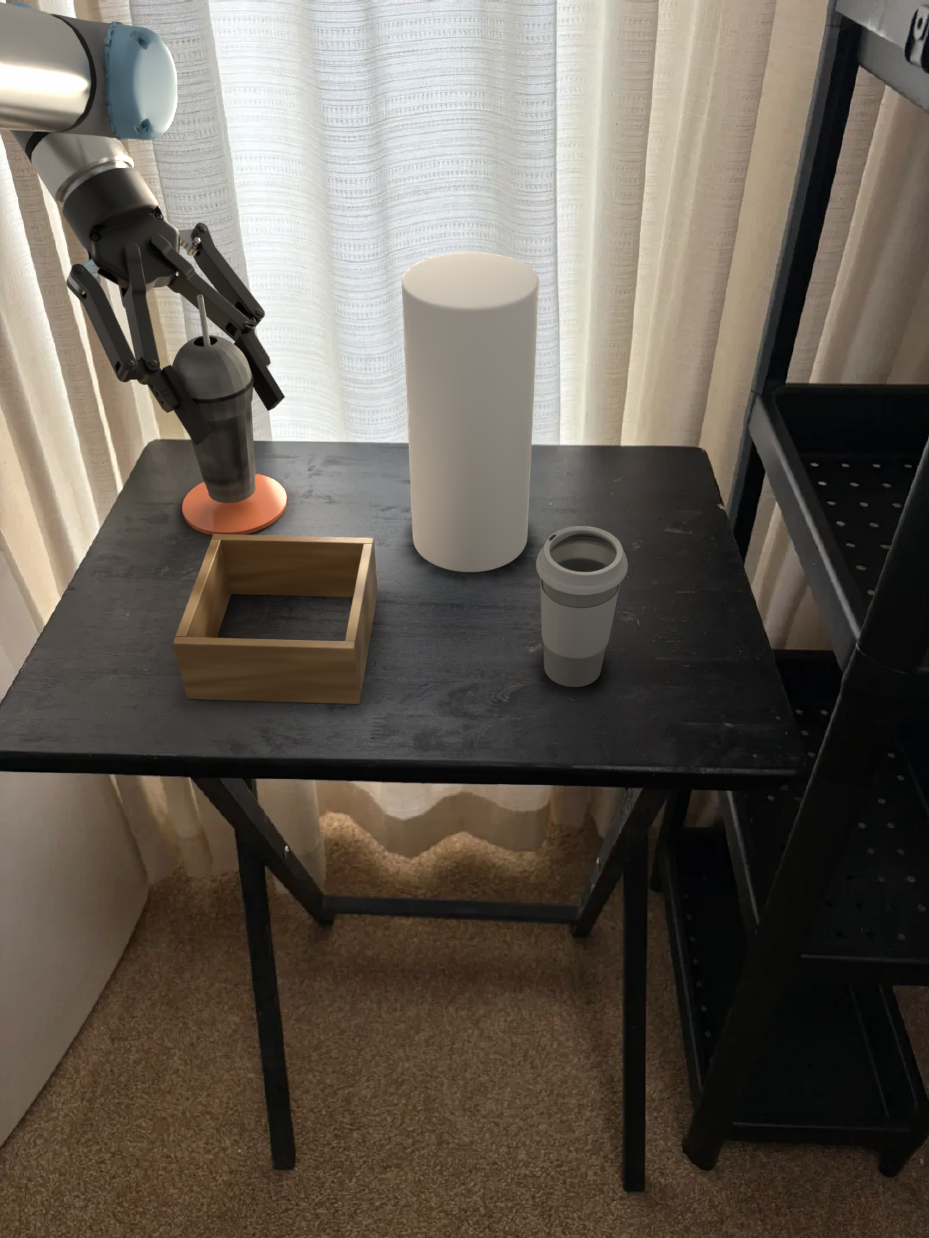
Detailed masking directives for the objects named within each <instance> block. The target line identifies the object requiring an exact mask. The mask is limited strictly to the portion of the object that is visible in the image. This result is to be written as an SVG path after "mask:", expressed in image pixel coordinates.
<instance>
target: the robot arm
mask: <svg viewBox="0 0 929 1238" xmlns="http://www.w3.org/2000/svg"><path fill="white" fill-rule="evenodd" d="M178 98H179V97H178V75H177V70H176V65H175V61H174V58H173V56H172V54H171V51H170V49H169V47H168V46H167V44H166V42H165V41H164V40H163V39H162V38H161V36H159V35H158V34H157V33H156V32H155V31H153V30H151V29H150V28H148V27H144V26H138V25H137V26H136V25H130V24H125V23H123V22H121V21H114V20H113V21H111V22H103V21H102V22H101V21H93V20H88V19H87V20H86V19H80V18H76V17H72V16H66V15H62V14H57V13H51V12H50V13H49V12H46V11H44V10H39V9H36V8H34V6H31V5H30V4H29V3H28V4H27V3H25V2H21V1H12V2H10V3H6V2H2V1H0V130H4V131H5V130H6V131H7V130H8V131H10V133H11V134H12V136H13V137H14V139H15V140H16V141H17V143H18V144H19V146H20V148H21V149H22V151H23V152H24V154H25V156H26V157H27V160H28V161H29V162H30V163H31V166H32V167H33V169H34V170H35V172H36V174H37V175H38V177H39V178H40V180H41V182H42V184H43V185H44V186H45V188H46V190H47V191H48V193H49V195H50V196H51V198H52V199H53V201H54V203H55V204H56V205H58V207H59V208H62V215H63V217H64V219H65V220H66V222H67V224H68V225H69V227H70V229H71V230H72V232H73V234H74V235H75V237H76V239H77V240H78V242H79V243H80V245H81V246H82V247H83V248H84V249H85V250H86V253H87V255H88V261H85V262H84V263H83V264H81V263H74V264H73V265H72V266H71V268H70V271H69V274H68V275H67V277H66V280H65V284H66V287H67V288H68V289H69V290H70V291H71V293H72V294H73V295H74V296H75V297H76V298H77V299H78V301H80V302H81V304H82V305H83V307H84V310H85V311H86V314H87V316H88V318H89V320H90V322H91V325H92V327H93V329H94V332H95V333H96V335H97V337H98V340H99V342H100V345H101V346H102V349H103V351H104V352H105V355H106V357H107V359H108V361H109V363H110V366H111V368H112V370H113V372H114V374H115V377H116V378H117V380H118V381H120V382H121V383H128V382H130V381H137V382H138V383H139V384H140V385H142V386H147V387H148V389H149V390H150V392H151V393H152V395H153V397H154V398H155V400H156V401H157V404H158V405H159V406H160V408H161V409H162V410H163V411H164V412H165V413H167V414H168V413H171V412H174V414H175V415H176V417H177V418H178V420H179V421H180V423H181V425H182V426H183V428H184V429H185V432H186V433H187V435H188V436H189V438H190V440H191V439H192V441H193V442H194V444H195V446H196V445H198V444H200V443H202V442H203V441H204V440H205V439H206V438H207V436H208V435H209V434H210V433H211V432H212V430H211V429H210V427H209V426H208V424H207V422H206V421H205V419H204V417H203V416H202V414H201V413H200V411H199V409H198V408H197V406H196V404H195V403H194V401H193V400H192V398H191V396H190V395H189V393H188V392H187V390H186V388H185V387H184V385H183V383H182V382H181V380H180V379H179V377H178V375H177V374H176V372H175V370H174V369H173V367H172V364H169V365H167V366H164V367H163V368H161V361H160V356H159V352H158V347H157V342H156V337H155V332H154V328H153V322H152V318H151V313H150V308H149V303H148V298H147V293H148V292H150V291H151V290H152V289H158V288H164V287H167V288H169V289H170V290H171V291H172V292H173V293H176V294H180V295H181V296H182V297H183V298H185V299H186V300H187V301H188V302H189V303H190V304H191V305H193V307H194V308H196V309H197V311H199V307H198V300H197V296H198V295H203V299H204V306H205V312H206V319H209V321H211V322H212V323H213V324H214V325H215V326H217V327H218V328H219V329H220V330H221V331H222V332H223V333H224V334H225V335H226V336H228V337H229V338H230V339H231V340H232V341H233V342H234V343H233V344H234V345H235V346H236V347H238V348H239V349H240V350H241V352H242V353H243V354H244V356H245V357H246V359H247V362H248V364H249V367H250V370H251V372H252V374H253V377H254V382H253V390H254V391H255V393H256V395H257V396H258V398H259V400H260V401H261V403H262V405H263V406H264V407H265V409H266V411H267V412H269V411H271V410H274V409H276V408H277V406H278V405H279V404H280V403H281V402H282V401H283V400H284V399H285V397H286V396H285V394H284V393H283V390H282V389H281V388H280V386H279V385H278V382H277V381H276V380H275V378H274V376H273V374H272V373H271V371H270V369H269V366H270V365H271V364H272V363H271V357H270V356H269V354H268V352H267V351H266V349H265V347H264V346H263V344H262V343H261V340H260V338H258V336H257V334H256V332H255V330H256V328H257V327H258V325H260V323H261V322H262V320H263V319H264V318H265V316H266V312H265V310H264V308H263V307H262V305H261V303H259V301H258V300H257V299H256V297H255V296H254V294H253V293H252V292H251V291H250V290H249V289H248V287H247V286H246V284H245V283H244V282H243V281H242V279H241V278H240V277H239V275H238V274H237V273H236V271H235V270H234V269H233V267H232V266H231V265H230V264H229V262H228V261H227V260H226V258H225V257H224V256H223V254H222V253H221V251H220V250H219V249H218V248H217V246H216V245H215V242H214V239H213V237H212V235H211V231H210V229H209V227H208V225H206V223H203V222H198V223H196V224H195V226H194V228H188V229H179V230H178V228H177V227H175V226H174V225H173V224H172V223H171V222H169V221H168V220H167V219H166V218H165V216H164V214H163V213H162V209H161V207H160V204H159V202H158V201H157V199H156V197H155V195H154V194H153V192H152V190H151V189H150V187H149V186H148V184H147V183H146V181H145V179H144V178H143V176H142V174H141V173H140V172H139V171H138V170H136V169H134V168H135V167H134V166H135V163H134V161H133V159H132V157H131V155H130V154H129V152H128V151H127V149H126V148H125V146H124V145H123V143H122V142H121V141H125V142H126V141H128V140H136V141H137V140H138V141H152V140H156V139H158V138H160V137H161V136H162V135H164V134H165V133H166V132H167V130H168V129H169V128H170V126H171V125H172V122H173V120H174V117H175V114H176V110H177V106H178ZM181 248H183V249H184V250H185V251H186V255H187V256H188V257H193V259H194V261H195V263H196V265H197V266H198V268H199V269H200V271H201V272H202V273H203V275H204V276H205V277H206V278H207V280H208V281H209V282H210V283H208V282H207V281H206V280H205V279H204V278H203V277H202V276H201V275H199V274H198V273H197V272H196V269H195V267H194V266H193V263H191V262H189V260H187V259H186V258H185V257H184V256H183V255H182V254H180V251H181ZM100 277H103V278H104V279H106V280H108V281H109V282H111V283H113V284H114V285H116V286H118V290H119V295H120V300H121V305H122V307H123V308H124V310H125V314H126V315H125V316H126V320H127V324H128V330H129V335H130V340H131V344H132V348H131V346H130V344H129V342H128V340H127V338H126V335H125V333H124V331H123V329H122V327H121V324H120V323H119V320H118V318H117V316H116V314H115V312H114V309H113V307H112V305H111V303H110V300H109V298H108V297H107V295H106V292H105V291H104V288H103V287H102V286H101V283H102V281H101V278H100ZM210 284H211V285H210ZM132 349H133V351H132ZM192 441H191V442H192Z"/></svg>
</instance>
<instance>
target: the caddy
mask: <svg viewBox="0 0 929 1238" xmlns="http://www.w3.org/2000/svg"><path fill="white" fill-rule="evenodd" d="M376 562H377V561H376V550H375V539H374V537H353V536H352V537H351V536H350V537H348V536H347V537H346V536H345V537H344V536H313V535H312V536H310V535H309V536H308V535H306V536H305V535H269V534H268V535H266V534H265V535H264V534H245V535H233V534H213V535H212V537H211V540H210V541H209V546H208V547H207V551H206V553H205V555H204V558H203V561H202V564H201V566H200V570H199V572H198V574H197V577H196V581H195V582H194V586H193V588H192V590H191V593H190V595H189V598H188V601H187V604H186V606H185V609H184V613H183V615H182V617H181V620H180V622H179V626H178V629H177V631H176V634H175V637H174V639H173V642H172V645H173V649H174V653H175V656H176V661H177V664H178V669H179V672H180V676H181V680H182V684H183V688H184V692H185V696H186V699H187V700H206V701H207V700H209V701H211V700H212V701H239V702H240V701H241V702H242V701H243V702H270V703H271V702H272V703H273V702H275V703H304V704H306V703H309V704H337V705H338V704H339V705H342V704H343V705H360V703H361V696H362V690H363V685H364V679H365V673H366V667H367V660H368V655H369V648H370V643H371V637H372V630H373V623H374V619H375V611H376V606H377V600H378V595H379V590H378V589H379V588H378V576H377V563H376ZM232 595H251V596H254V595H255V596H256V595H257V596H285V597H286V596H290V597H293V596H294V597H328V598H352V601H351V607H350V611H349V617H348V622H347V627H346V632H345V638H344V640H342V641H341V640H340V641H339V640H338V641H337V640H303V639H300V640H299V639H273V638H271V639H269V638H268V639H267V638H237V637H236V638H233V637H232V638H231V637H218V636H219V633H220V630H221V627H222V623H223V620H224V617H225V615H226V613H227V608H228V605H229V602H230V599H231V596H232Z"/></svg>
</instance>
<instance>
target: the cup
mask: <svg viewBox="0 0 929 1238" xmlns="http://www.w3.org/2000/svg"><path fill="white" fill-rule="evenodd" d="M535 568H536V569H535V570H536V573H537V575H538V577H539V578H540V617H541V618H540V622H541V627H540V629H541V639H542V641H543V670H544V672H545V674H546V676H547V677H548V678H549V679H550V680H551V681H552V682H554V683H556V684H557V685H561V686H564V687H566V688H567V687H568V688H581V687H585V686H588V685H591V684H592V683H594V682H595V681H596V680H597V679H598V678H599V677H600V675H601V672H602V668H603V663H604V657H605V652H606V647H607V646H608V644H609V641H610V636H611V631H612V625H613V621H614V617H615V611H616V607H617V602H618V597H619V592H620V585H621V582H622V581H623V580H624V579H625V577H626V575H627V573H628V570H629V569H628V568H629V563H628V559H627V555H626V553H625V552H624V548H623V546H622V544H621V542H620V540H619V539H618V538H617V537H616V536H614V535H613V534H612V533H610V532H608V531H606V530H604V529H601V528H598V527H594V526H589V525H577V526H576V525H575V526H568V527H564V528H561V529H559V530H557V531H555V532H554V533H552V534H550V535H549V537H548V538H547V539H546V540H545V542H544V545H543V547H542V548H541V549H540V551H539V553H538V555H537V557H536V562H535Z"/></svg>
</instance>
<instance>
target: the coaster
mask: <svg viewBox="0 0 929 1238" xmlns="http://www.w3.org/2000/svg"><path fill="white" fill-rule="evenodd" d="M255 486H256V489H255V492H254V493H253V494H252V496H250V497H249V498H247V499H246V500H243V501H240V502H236V503H221V502H217V501H215V500H213V499H211V497H210V496H209V493H208V490H207V488H206V485H205V483H204V481H202V482H200V483H198V484H197V485H195V486H194V487H193V488H191V490H190V491H188V493H187V494H186V496H185V497H184V498H183V500H182V505H181V511H182V515H183V518H184V520H185V522H186V523H187V524H188V526H190V527H191V528H193V529H194V530H195V531H198V532H200V533H202V534H206V535H210V536H213V534H233V535H251V534H253V533H256V532H259V531H260V530H263V529H266V528H267V527H270V526H271V525H272V524H274V523H275V522H277V521H278V520H279V519H280V518H281V517H282V516H283V514H284V512H285V511H286V508H287V506H288V497H287V492H286V490H285V488H284V487H283V485H281V483H280V482H279V481H277V480H275V479H274V478H271V477H269V476H266V475H263V474H259V473H256V474H255Z"/></svg>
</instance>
